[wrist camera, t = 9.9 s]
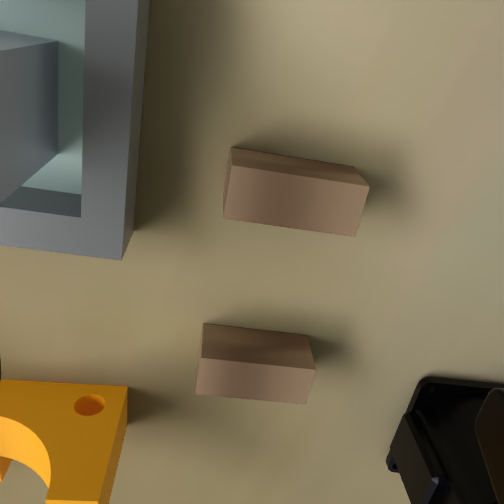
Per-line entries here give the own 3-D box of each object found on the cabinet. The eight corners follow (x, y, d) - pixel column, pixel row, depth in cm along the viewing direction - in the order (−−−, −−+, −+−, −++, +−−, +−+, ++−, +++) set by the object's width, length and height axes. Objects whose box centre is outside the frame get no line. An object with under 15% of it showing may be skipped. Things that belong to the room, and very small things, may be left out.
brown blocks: (353, 166, 20) (370, 186, 17) (298, 368, 24) (305, 404, 22) (230, 147, 19) (232, 165, 17) (197, 357, 23) (195, 393, 21)
